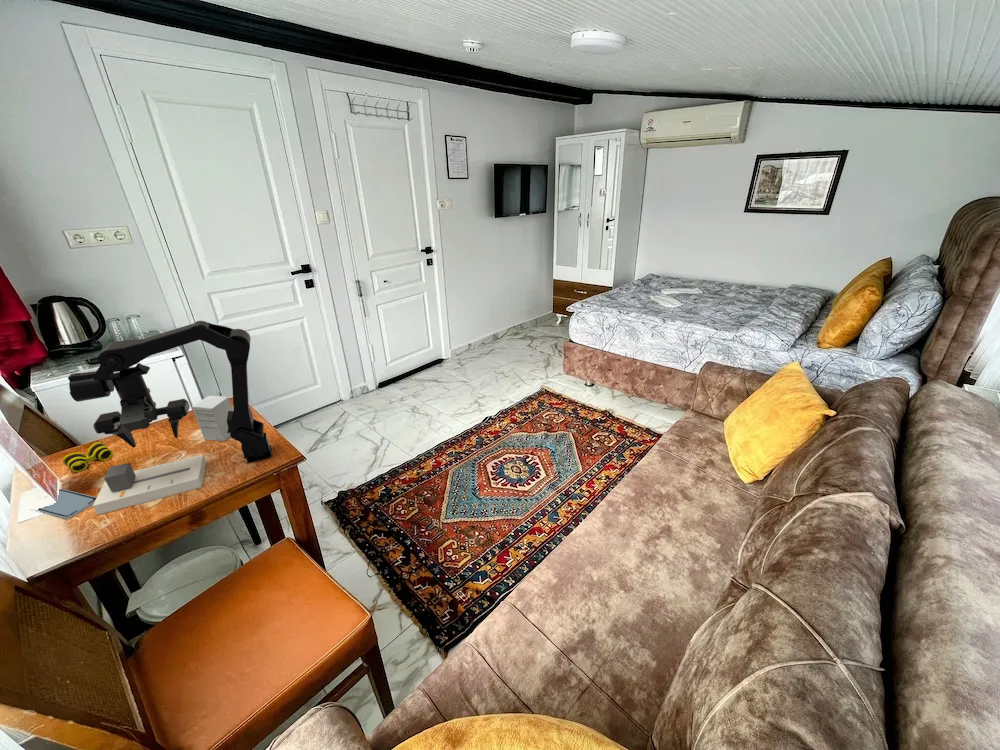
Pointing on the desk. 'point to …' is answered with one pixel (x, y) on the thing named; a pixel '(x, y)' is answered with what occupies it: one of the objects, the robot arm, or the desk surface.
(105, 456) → the opera glasses
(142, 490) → the block
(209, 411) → the supplement box
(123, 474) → the block
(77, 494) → the smartphone
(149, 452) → the desk surface
